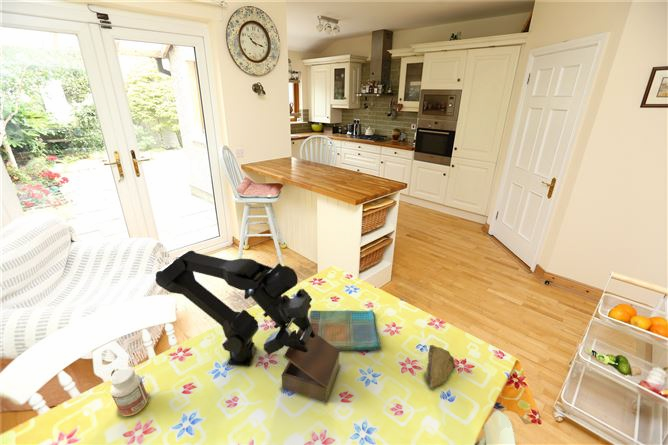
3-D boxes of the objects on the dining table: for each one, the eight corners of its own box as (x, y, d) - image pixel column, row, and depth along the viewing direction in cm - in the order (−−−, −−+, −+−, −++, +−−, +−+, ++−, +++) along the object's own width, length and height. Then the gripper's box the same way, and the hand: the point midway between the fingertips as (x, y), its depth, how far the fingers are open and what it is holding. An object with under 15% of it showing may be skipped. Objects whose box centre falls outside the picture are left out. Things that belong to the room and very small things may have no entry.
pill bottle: (128, 394, 76) (115, 364, 72) (152, 392, 77) (142, 362, 73) (114, 418, 71) (100, 387, 66) (140, 416, 71) (128, 385, 67)
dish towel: (381, 352, 90) (382, 346, 89) (306, 351, 90) (306, 345, 89) (374, 313, 106) (374, 308, 105) (310, 313, 106) (310, 307, 105)
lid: (282, 356, 73) (292, 345, 71) (301, 325, 84) (309, 314, 81) (325, 388, 73) (336, 378, 71) (338, 352, 83) (348, 342, 81)
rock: (450, 349, 89) (419, 347, 88) (465, 346, 81) (432, 343, 80) (456, 390, 83) (423, 388, 82) (472, 391, 76) (436, 388, 75)
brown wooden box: (282, 388, 79) (281, 374, 77) (299, 355, 89) (299, 342, 87) (326, 402, 75) (326, 388, 73) (338, 366, 85) (339, 352, 83)
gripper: (272, 313, 63) (318, 363, 65) (305, 268, 80) (341, 309, 81) (244, 331, 69) (287, 377, 70) (280, 285, 85) (315, 324, 87)
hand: (310, 344), depth 77 cm, fingers closed on lid, 5 cm apart
